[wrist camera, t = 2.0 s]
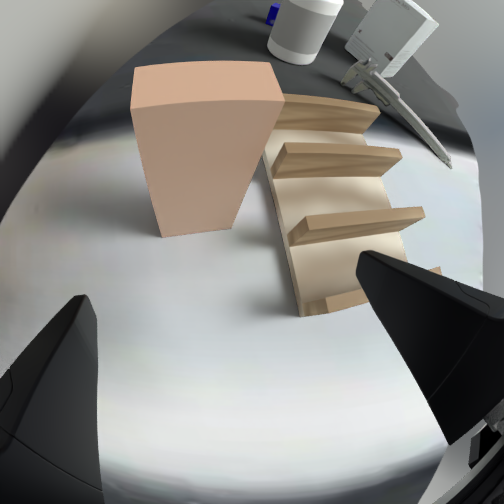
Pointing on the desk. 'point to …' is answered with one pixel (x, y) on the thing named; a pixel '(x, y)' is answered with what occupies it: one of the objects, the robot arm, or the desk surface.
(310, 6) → the spray bottle
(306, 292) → the rack
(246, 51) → the desk surface
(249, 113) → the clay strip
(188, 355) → the desk surface
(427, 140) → the caliper
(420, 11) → the skincare box
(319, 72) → the desk surface
